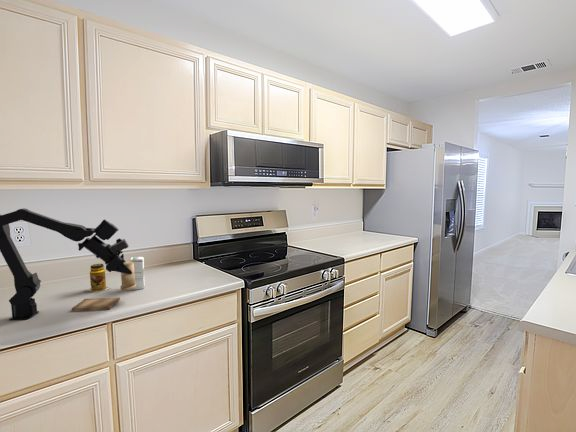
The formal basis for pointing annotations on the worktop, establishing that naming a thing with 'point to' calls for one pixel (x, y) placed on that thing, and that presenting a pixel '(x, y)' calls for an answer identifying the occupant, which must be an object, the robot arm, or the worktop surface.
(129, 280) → the wooden chess pawn
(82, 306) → the walnut board
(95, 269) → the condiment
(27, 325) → the worktop surface
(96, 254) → the robot arm
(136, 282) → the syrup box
